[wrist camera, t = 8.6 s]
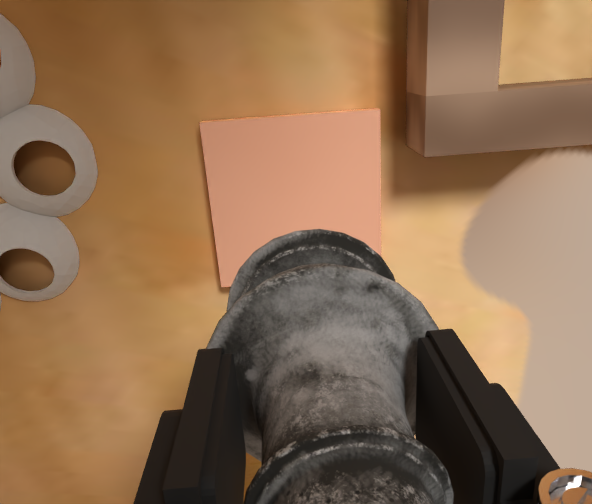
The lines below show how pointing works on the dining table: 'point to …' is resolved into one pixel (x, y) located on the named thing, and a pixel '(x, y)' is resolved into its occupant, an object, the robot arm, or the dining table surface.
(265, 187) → the terracotta tile
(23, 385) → the dining table surface
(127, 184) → the dining table surface
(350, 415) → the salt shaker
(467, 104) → the brown square wooden frame
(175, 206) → the dining table surface
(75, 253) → the paint palette
